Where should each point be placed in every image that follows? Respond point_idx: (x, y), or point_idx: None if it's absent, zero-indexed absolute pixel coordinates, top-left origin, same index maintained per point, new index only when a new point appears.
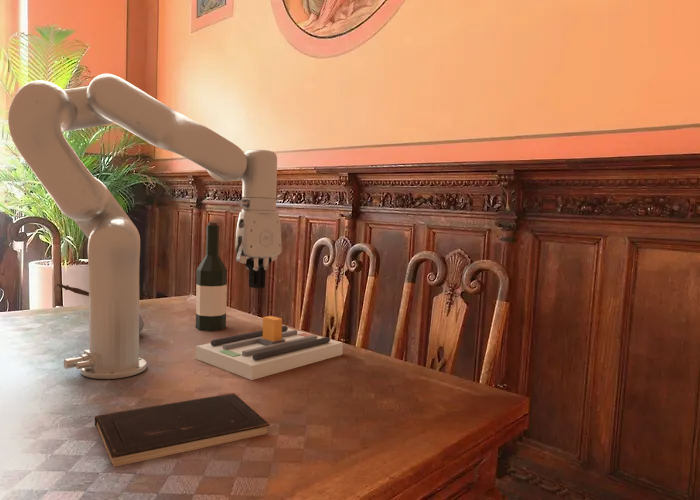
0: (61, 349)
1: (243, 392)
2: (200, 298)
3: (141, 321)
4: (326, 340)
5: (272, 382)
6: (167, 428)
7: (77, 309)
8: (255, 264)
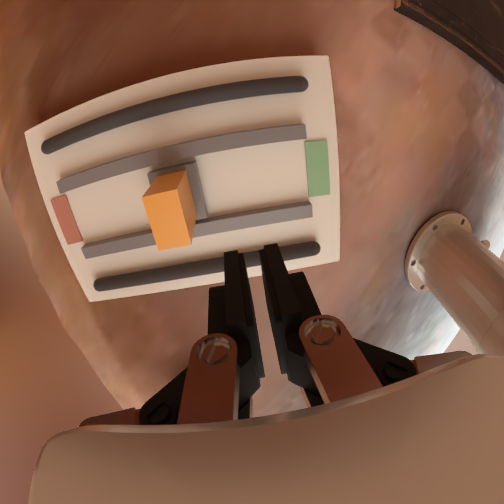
0: (415, 350)
1: (363, 22)
2: None
3: None
4: (53, 136)
5: (287, 24)
6: (488, 3)
7: None
8: (342, 354)
